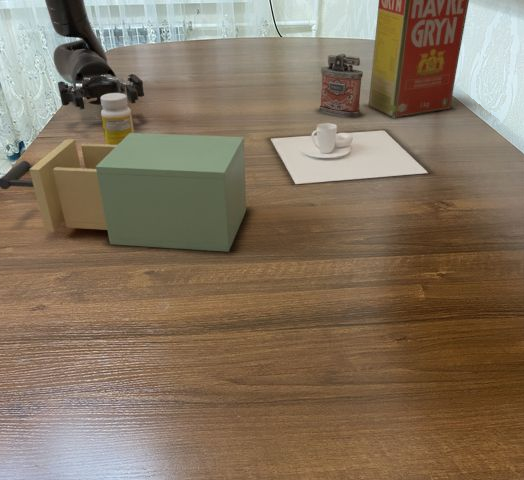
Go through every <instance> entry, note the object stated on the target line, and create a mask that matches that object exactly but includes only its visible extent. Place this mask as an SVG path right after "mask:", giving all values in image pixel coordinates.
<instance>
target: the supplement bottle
mask: <svg viewBox="0 0 524 480" xmlns="http://www.w3.org/2000/svg"><path fill="white" fill-rule="evenodd" d="M128 102H129V101H128V98H127V97H126V95H125V94H122V93H109V94H105V95H103V96H101V105H100V106H101V107H102V109H101V111H100V117H101V122H102V128H103V129H102V130H103V133H104V141H105V144H111V145H118V144H119V143H120V142H121V141H122V140H123V139H124V138H125V137H126V136H127V135H128V134H129V133H135V128H134V122H133V115H132V110H131V108H130V107H129V103H128Z"/></svg>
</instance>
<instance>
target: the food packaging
mask: <svg viewBox="0 0 524 480" xmlns="http://www.w3.org/2000/svg"><path fill="white" fill-rule="evenodd" d="M469 3H470V0H378V4H377V5H378V6H377V17H376V26H375V27H376V28H375V36H374V48H373V56H372V57H373V59H372V68H371V77H370V86H369V87H370V88H369V97H368V105H367V106H368V107H370V108H372V109H374V110H376V111H379V112H381V113H382V114H385V115H386V116H389V117H391V118H393V119H396V118H402V117H409V116H415V115H421V114H427V113H433V112H439V111H445V110H451V106H452V101H453V94H454V87H455V81H456V75H457V70H458V63H459V59H460V53H461V48H462V42H463V36H464V30H465V25H466V19H467V14H468V8H469Z"/></svg>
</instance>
